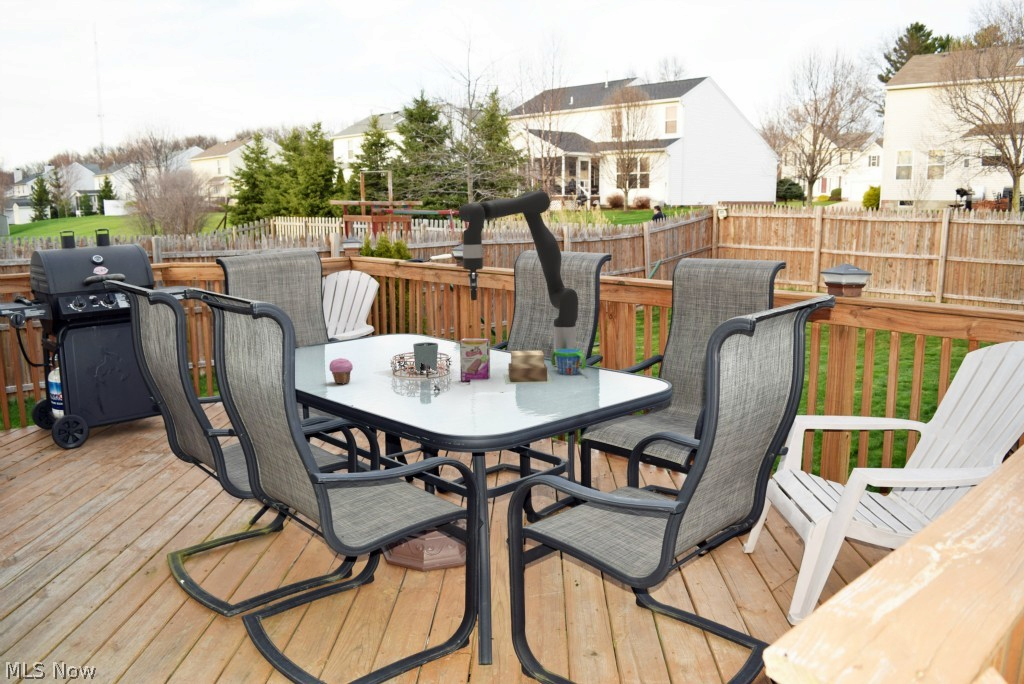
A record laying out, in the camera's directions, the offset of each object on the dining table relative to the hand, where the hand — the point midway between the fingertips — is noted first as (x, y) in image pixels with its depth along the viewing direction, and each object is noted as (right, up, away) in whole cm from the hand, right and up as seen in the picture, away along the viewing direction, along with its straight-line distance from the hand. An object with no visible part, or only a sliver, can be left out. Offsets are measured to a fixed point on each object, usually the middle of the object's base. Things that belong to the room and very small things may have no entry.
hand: (473, 299), depth 300 cm
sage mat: (+21, -32, +2) cm, 38 cm away
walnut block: (+21, -31, +2) cm, 37 cm away
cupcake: (-52, -33, +4) cm, 61 cm away
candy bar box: (0, -32, +5) cm, 32 cm away
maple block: (+21, -26, +1) cm, 33 cm away
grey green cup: (-21, -29, +23) cm, 42 cm away
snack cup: (+37, -30, +12) cm, 49 cm away
